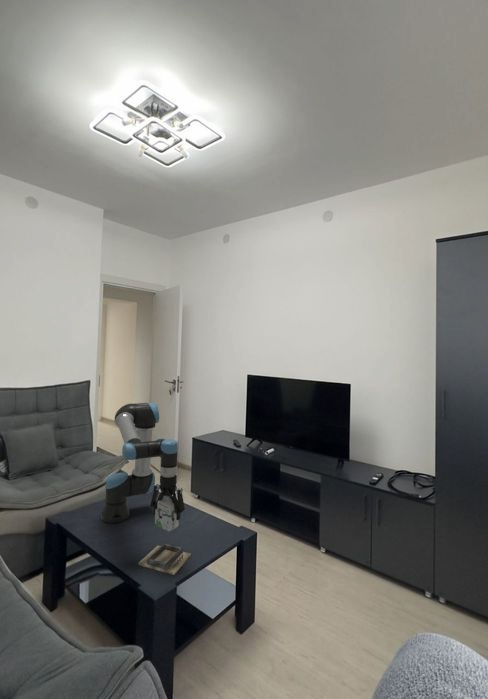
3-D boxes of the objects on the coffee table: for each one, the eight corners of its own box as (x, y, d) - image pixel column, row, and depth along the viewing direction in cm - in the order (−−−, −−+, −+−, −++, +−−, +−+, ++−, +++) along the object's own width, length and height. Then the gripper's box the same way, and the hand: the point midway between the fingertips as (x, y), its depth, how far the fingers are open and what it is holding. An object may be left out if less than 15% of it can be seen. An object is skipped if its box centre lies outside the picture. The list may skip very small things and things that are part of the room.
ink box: (155, 526, 158) (156, 499, 158) (164, 521, 162) (164, 496, 162) (169, 532, 153) (170, 505, 153) (177, 527, 157) (178, 501, 157)
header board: (138, 565, 153) (138, 558, 153) (157, 547, 167) (157, 541, 167) (174, 575, 147) (174, 568, 147) (190, 555, 161) (191, 549, 161)
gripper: (143, 473, 158) (141, 523, 157) (185, 481, 150) (183, 533, 150) (152, 469, 165) (150, 516, 164) (193, 475, 157) (192, 525, 157)
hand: (166, 524), depth 157 cm, fingers closed on ink box, 9 cm apart
